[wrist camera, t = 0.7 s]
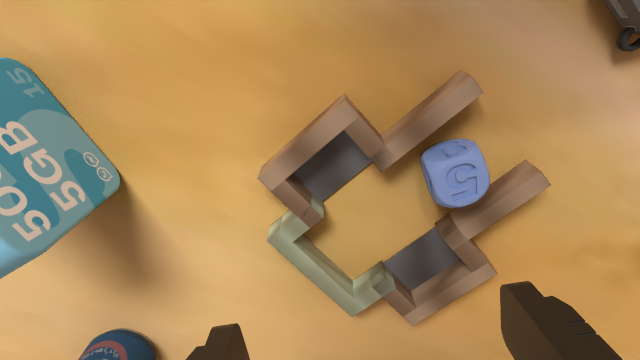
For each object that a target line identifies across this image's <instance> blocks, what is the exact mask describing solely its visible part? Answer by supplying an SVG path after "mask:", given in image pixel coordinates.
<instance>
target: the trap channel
mask: <svg viewBox="0 0 640 360" xmlns="http://www.w3.org/2000/svg"><path fill="white" fill-rule="evenodd" d="M483 93H484V92H483V91H482V89H481V88H480V87H479V85H478V84H477V83H476V81H475V80H474V79H473V77H472V76H470V75H468V74H466V73H464V72H461V71H459V72H458V73H457V74H456V75H455V76H453V77H452V78H451V79H450V80H448V81H447V82H446V83H445V84H444V85H442V86H441V87H440V88H439V89H437V90H436V91H435V92H434V93H433V94H431V95H430V96H429V97H428V98H426V99H425V100H424V101H423V102H422V103H420V104H419V105H418V106H417V107H415V108H414V109H413V110H412V111H410V112H409V113H408V114H407V115H406V116H404V117H403V118H402V119H401V120H399V121H398V122H397V123H396V124H395V125H393V126H392V127H391V128H390V129H388V130H387V131H386V132H385V133H384V134H382V135H380V134H379V133H378V132H377V130H376V129H375V128H374V127H373V126H372V125H371V124H370V122H369V121H368V120H367V119H366V118H365V117H364V116H363V114H362V113H361V112H360V111H359V110H358V109H357V108H356V106H355V105H354V104H353V103H352V102H351V101H350V100H349V98H348V97H347V96H346V95H345V94H343V95H342V96H341V97H340V98H339V99H338V100H336V101H335V102H334V103H333V104H332V105H331V106H330V107H329V108H327V109H326V110H325V111H324V112H323V113H322V114H321V115H319V116H318V117H317V118H316V119H315V120H314V121H313V122H312V123H310V124H309V125H308V126H307V127H306V128H305V129H304V130H303V131H301V132H300V133H299V134H298V135H297V136H296V137H295V138H294V139H292V140H291V141H290V142H289V143H288V144H287V145H286V146H285V147H283V148H282V149H281V150H280V151H279V152H278V153H277V154H275V155H274V156H273V157H272V158H271V159H270V160H269V161H268V162H266V163H265V164H264V165H263V166H262V168H261V170H260V173H259V175H258V178H257V179H258V180H259V181H260V182H262V183H263V184H264V185H265V186H266V187H267V188H268V189H269V190H270V191H271V192H272V193H273V194H274V195H275V196H276V197H277V198H278V199H279V200H280V201H282V202H283V203H284V204H285V205H286V206H287V207H288V208H289V209H290V210H289V211H288V212H287V213H286V214H284V215H283V216H282V217H281V218H279V219H278V220H277V221H276V222H275V223H273V224H272V225H271V227H270V231H269V235H268V238H267V242H269V243H270V244H271V245H272V246H273V247H274V248H275V249H276V250H278V251H279V252H280V253H281V254H282V255H283V256H284V257H285V258H286V259H288V260H289V261H290V262H291V263H292V264H293V265H294V266H295V267H297V268H298V269H299V270H300V271H301V272H302V273H303V274H304V275H305V276H307V277H308V278H309V279H310V280H311V281H312V282H313V283H314V284H316V285H317V286H318V287H319V288H320V289H321V290H322V291H323V292H325V293H326V294H327V295H328V296H329V297H330V298H331V299H332V300H333V301H335V302H336V303H337V304H338V305H339V306H340V307H341V308H342V309H344V310H345V311H346V312H347V313H348V314H349V315H350V316H351V317H353V316H355V315H356V314H358V313H359V312H361V311H362V310H364V309H366V308H367V307H369V306H370V305H372V304H373V303H375V302H376V301H378V300H379V299H381V298H382V297H383V298H384V299H385V300H386V301H387V302H388V303H389V304H390V305H391V306H392V307H393V308H394V309H395V310H396V311H397V312H398V313H399V314H400V315H402V316H403V317H404V318H405V319H406V320H407V321H408V322H409V323H410V324H411V325H412V326H414V325H415V324H417V323H419V322H420V321H422V320H423V319H425V318H427V317H428V316H430V315H432V314H433V313H435V312H436V311H438V310H440V309H441V308H443V307H444V306H446V305H448V304H449V303H451V302H452V301H454V300H456V299H457V298H459V297H461V296H462V295H464V294H465V293H467V292H469V291H470V290H472V289H473V288H475V287H477V286H478V285H480V284H482V283H483V282H485V281H486V280H488V279H490V278H491V277H493V276H494V275H496V274H498V273H497V272H496V270H495V269H494V267H493V266H492V264H491V263H490V261H489V260H488V258H487V256H486V255H485V254H484V253H483V252H482V251H481V250H480V248H479V247H478V246H477V245H476V244H475V243H474V242H473V240H472V239H471V238H472V237H474V236H475V235H477V234H478V233H480V232H481V231H483V230H484V229H486V228H487V227H489V226H490V225H492V224H493V223H495V222H497V221H498V220H500V219H501V218H503V217H504V216H506V215H507V214H509V213H510V212H512V211H513V210H515V209H516V208H518V207H519V206H521V205H522V204H524V203H525V202H527V201H528V200H530V199H531V198H533V197H534V196H536V195H537V194H539V193H540V192H542V191H543V190H545V189H546V188H548V187H549V186H551V184H550V183H549V181H548V180H547V178H546V177H545V176H544V174H543V173H542V172H541V171H540V170H539V169H537V168H536V167H535V166H533V165H532V164H531V163H529V162H528V161H527V160H525V161H523V162H522V163H521V164H519V165H518V166H516V167H515V168H513V169H512V170H511V171H509V172H508V173H506V174H505V175H503V176H502V177H501V178H499V179H498V180H496V181H495V182H493V183H492V184H491V185H490V186H489V188H488V190H487V192H486V193H485V194H484V195H483V196H482V197H481V198H480V199H479V200H478V201H476V202H474V203H472V204H470V205H467V206H463V207H458V208H456V209H455V210H453V211H452V212H450V213H449V214H448V215H446V216H445V217H443V218H442V219H440V220H439V221H438V222H436V223H435V225H436V227H434V228H433V229H431V230H430V231H428V232H427V233H426V234H424V235H423V236H421V237H420V238H418V239H417V240H415V241H414V242H413V243H411V244H410V245H408V246H407V247H405V248H404V249H403V250H401V251H400V252H398V253H397V254H395V255H394V256H392V257H391V258H390V259H388V260H387V261H385V262H384V263H383V262H382V261H380V262H379V263H378V264H376V265H375V266H373V267H372V268H370V269H369V270H368V271H366V272H365V273H363V274H362V275H360V276H359V277H357V278H356V279H355V280H353V281H352V280H351V279H350V278H349V277H348V276H347V275H346V274H345V273H343V272H342V271H341V270H340V269H339V268H338V267H337V266H336V265H335V264H334V263H333V262H332V261H331V260H330V259H328V258H327V257H326V256H325V255H324V254H323V253H322V252H321V251H320V250H319V249H318V248H317V247H316V246H315V245H314V244H312V243H311V242H310V241H309V240H308V239H307V238H306V237H305V236H304V235H303V234H304V233H305V232H306V231H307V230H309V229H310V228H311V227H312V226H314V225H315V224H316V223H318V222H319V221H320V220H321V219H323V218H324V203H323V202H322V201H324V200H325V199H326V198H327V197H329V196H330V195H331V194H332V193H334V192H335V191H336V190H337V189H339V188H340V187H341V186H342V185H344V184H345V183H346V182H347V181H349V180H350V179H351V178H352V177H354V176H355V175H356V174H357V173H359V172H360V171H361V170H362V169H364V168H365V167H366V166H367V165H369V164H370V163H371V162H373V163H374V164H375V165H376V166H377V167H378V168H379V169H380V170H381V171H382V172H383V171H384V170H385V169H387V168H388V167H389V166H391V165H392V164H393V163H394V162H396V161H397V160H398V159H399V158H401V157H402V156H403V155H405V154H406V153H407V152H408V151H410V150H411V149H412V148H414V147H415V146H416V145H417V144H419V143H420V142H421V141H423V140H424V139H425V138H426V137H428V136H429V135H430V134H431V133H433V132H434V131H435V130H437V129H438V128H439V127H440V126H442V125H443V124H444V123H446V122H447V121H448V120H449V119H451V118H452V117H453V116H455V115H456V114H457V113H458V112H460V111H461V110H462V109H463V108H465V107H466V106H467V105H469V104H470V103H471V102H472V101H474V100H475V99H476V98H478V97H479V96H480V95H481V94H483Z"/></svg>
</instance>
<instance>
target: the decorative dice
mask: <svg viewBox="0 0 640 360" xmlns="http://www.w3.org/2000/svg"><path fill="white" fill-rule="evenodd" d="M420 161H421V166H422V170H423V174H424V177H425V180H426V183H427V186H428V188H429V191H430V193H431V196H432V198H433V200H434V202H435V203H436V204H438V205H441V206H443V207H449V208H456V207H463V206H467V205H470V204H472V203H474V202H476V201H478V200H479V199H480V198H481V197H482V196H483V195H484V194H485V193H486V192H487V190H488V188H489V186H490V177H489V172H488V168H487V165H486V162H485V159H484V157H483V155H482V153H481V151H480V149H479V147H478V146H477V145H476V143H475V142H473V141H471V140H468V139H451V140H447V141H443V142H440V143H437V144H435V145H433V146H431V147H429V148H428V149H427V150H426V151H425V152H424V153H423V155H422V157H421V158H420Z"/></svg>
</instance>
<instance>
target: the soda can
mask: <svg viewBox="0 0 640 360" xmlns="http://www.w3.org/2000/svg"><path fill="white" fill-rule="evenodd" d="M78 360H156V359H155V353H154V348H153V345H152V343H151V342H150V341H149V339H148V338H147V337H145V336H144V335H143V334H141V333H139V332H137V331H134V330H131V329H125V328H118V329H113V330H111V331H108V332H106V333H103V334H101V335H99V336H98V337H96V338H95V339H93V340H92V341H91V342H90V344H89V345H88V346H87V348H86V349H85V351H84V352H83V354H82V355H81V356H80V358H79V359H78Z"/></svg>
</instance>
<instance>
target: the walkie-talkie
mask: <svg viewBox="0 0 640 360" xmlns="http://www.w3.org/2000/svg"><path fill="white" fill-rule="evenodd" d="M603 1H604V3H605V4H606V6H607V7H608V9H609V10H610V12H611V13H612V15H613V16H614V18H615V19H616V21H617V22H618V24H619V25H620V27H621V28H622V30H623V31H622V32H621V33H620V34H619V36H618V38H617V41H616V42H617V45H618V48H619V49H620V50H622V51H629V52H630V51H634V50H636V49H638V48H640V38H639V39H637V40H636V41H635V42H634V43H632V44H629V45H628V42H627V40H628V38H629V36H630V35H631V34H632V33H636V34H640V0H603Z"/></svg>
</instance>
